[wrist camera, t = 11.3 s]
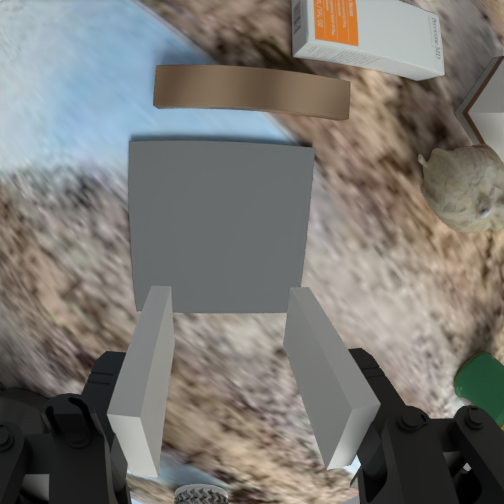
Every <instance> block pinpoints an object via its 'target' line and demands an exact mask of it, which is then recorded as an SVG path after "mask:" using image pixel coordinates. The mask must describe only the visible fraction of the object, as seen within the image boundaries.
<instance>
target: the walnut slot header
mask: <svg viewBox="0 0 504 504" xmlns="http://www.w3.org/2000/svg"><path fill="white" fill-rule="evenodd" d="M153 106H155V107H156V108H158V109H163V108H204V109H232V110H249V111H263V112H274V113H285V114H294V115H302V116H310V117H318V118H325V119H332V120H338V121H339V120H346V119H349V106H350V81H345V80H340V79H335V78H330V77H324V76H319V75H312V74H306V73H299V72H292V71H284V70H276V69H266V68H256V67H243V66H225V65H156V75H155V87H154V100H153Z"/></svg>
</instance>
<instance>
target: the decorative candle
mask: <svg viewBox="0 0 504 504" xmlns="http://www.w3.org/2000/svg"><path fill="white" fill-rule="evenodd" d="M175 496H176V497H175V498H174V499H175V500H176V501H174V503H175V504H229V500H228V499H227V498H228V494H227V491H226V490H224V489H223V488H221V487H218V486H214V485H208V484H189V485H184V486H181V487H179V488H177V489H176V491H175Z"/></svg>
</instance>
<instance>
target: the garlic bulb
mask: <svg viewBox="0 0 504 504" xmlns="http://www.w3.org/2000/svg"><path fill="white" fill-rule="evenodd" d="M418 161H419V163H421V164H422V165H423V173H424V181H423V184H422V185H421V187H420V188H421V191H422V193H423V195H424V197H425V199H426V200H427V202H428V204H429V206H430V208H431V209H432V211H433V212H434V213H435V214H436V215H437V217H438V218H439V219H440V220H441V221H442V222H443V223H445V224H446V225H447V226H448V227H449V228H451V229H452V230H455V231H459V232H464V233H471V232H472V233H479V232H484V231H486V230H487V229H492V230H494V231H499V230H501V229H503V228H504V163H503V162H502V160H501V159H500V157H499V156H498V154H497V153H496V152H495V151H494V150H493V149H492V148H491V147H490V146H489V145H487V144H477V145H472V146H467V147H459V148H456V149H455V150H453V151H452V150H448V151H446V150H443V149H440V148H435V149H433V150H432V153H431V156H430V159H429V160H428V162H426V161H425V159H424V157H423V156H422V155H421V154H419V156H418Z"/></svg>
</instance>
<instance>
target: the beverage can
mask: <svg viewBox="0 0 504 504" xmlns="http://www.w3.org/2000/svg"><path fill="white" fill-rule="evenodd" d="M454 388H455V394H456V395H457V396H458V397H459V399H460V400H461V401H462V402H463V403H464V405H465V406H467V405H473V406H478V407H480V408H482V409H484V410H485V411H486V412H487V413H488V414H489V415H490V416H491V417H492V418H493V419H494V421H495V422H496V423H497V424H498V425H499V427H500V428H501V429H502V430H503V432H504V366H503V365H502V364H501V363H500V362H499V361H498V360H497V359H496V358H495V357H494V356H493V355H491V354H490V353H484V352H479V353H477V354H475V355H474V356H472V357H471V358H470V359H469V360H467V361H466V362H465V364H464V365H463V366H462V367H461V369H460V370H459V371H458V373H457V375H456V377H455V379H454Z"/></svg>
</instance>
